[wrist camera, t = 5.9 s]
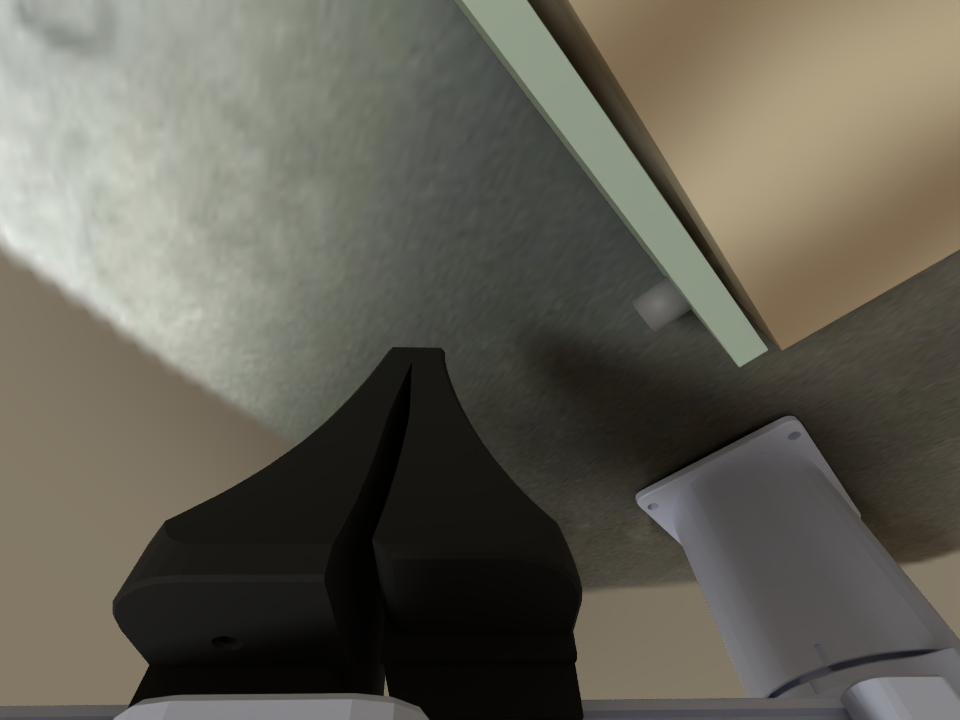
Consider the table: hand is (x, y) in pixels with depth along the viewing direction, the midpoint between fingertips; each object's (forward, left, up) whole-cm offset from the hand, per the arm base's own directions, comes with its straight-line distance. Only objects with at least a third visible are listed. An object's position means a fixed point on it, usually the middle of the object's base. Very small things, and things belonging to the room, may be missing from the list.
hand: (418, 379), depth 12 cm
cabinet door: (+1, -6, -5) cm, 8 cm away
